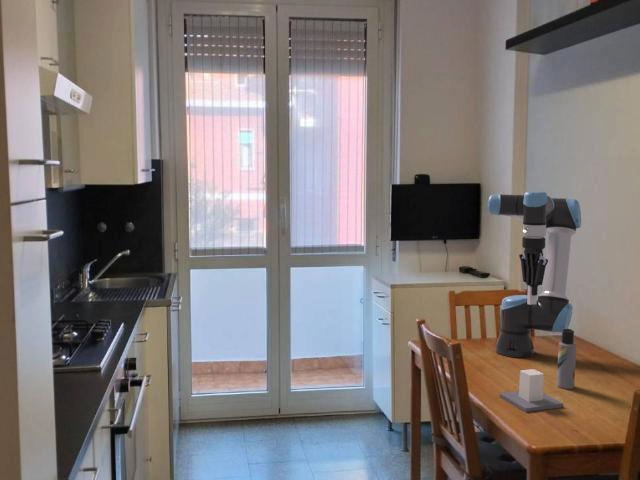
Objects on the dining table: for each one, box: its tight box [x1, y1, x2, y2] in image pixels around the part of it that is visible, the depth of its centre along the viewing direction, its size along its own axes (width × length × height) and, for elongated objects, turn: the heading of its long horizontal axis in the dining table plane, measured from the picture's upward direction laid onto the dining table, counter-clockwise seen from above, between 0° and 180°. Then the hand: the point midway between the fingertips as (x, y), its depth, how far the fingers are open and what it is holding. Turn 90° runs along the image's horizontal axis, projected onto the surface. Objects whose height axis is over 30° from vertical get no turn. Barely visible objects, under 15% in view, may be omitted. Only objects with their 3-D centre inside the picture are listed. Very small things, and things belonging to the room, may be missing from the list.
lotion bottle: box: [556, 328, 577, 390], centre depth 224 cm, size 6×6×20 cm
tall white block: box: [518, 368, 545, 402], centre depth 209 cm, size 5×5×9 cm
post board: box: [499, 390, 564, 413], centre depth 209 cm, size 14×14×8 cm
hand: (531, 303), depth 227 cm, fingers closed
